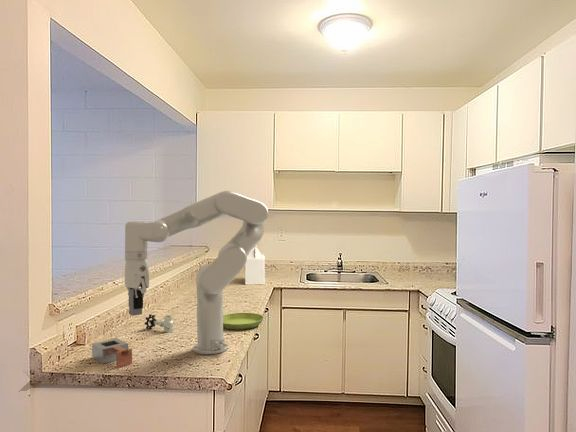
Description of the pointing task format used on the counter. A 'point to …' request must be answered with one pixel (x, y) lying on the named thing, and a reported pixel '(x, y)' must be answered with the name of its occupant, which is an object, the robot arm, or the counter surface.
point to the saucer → (242, 320)
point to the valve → (160, 323)
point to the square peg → (131, 303)
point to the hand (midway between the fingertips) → (135, 307)
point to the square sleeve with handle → (112, 352)
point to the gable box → (255, 267)
